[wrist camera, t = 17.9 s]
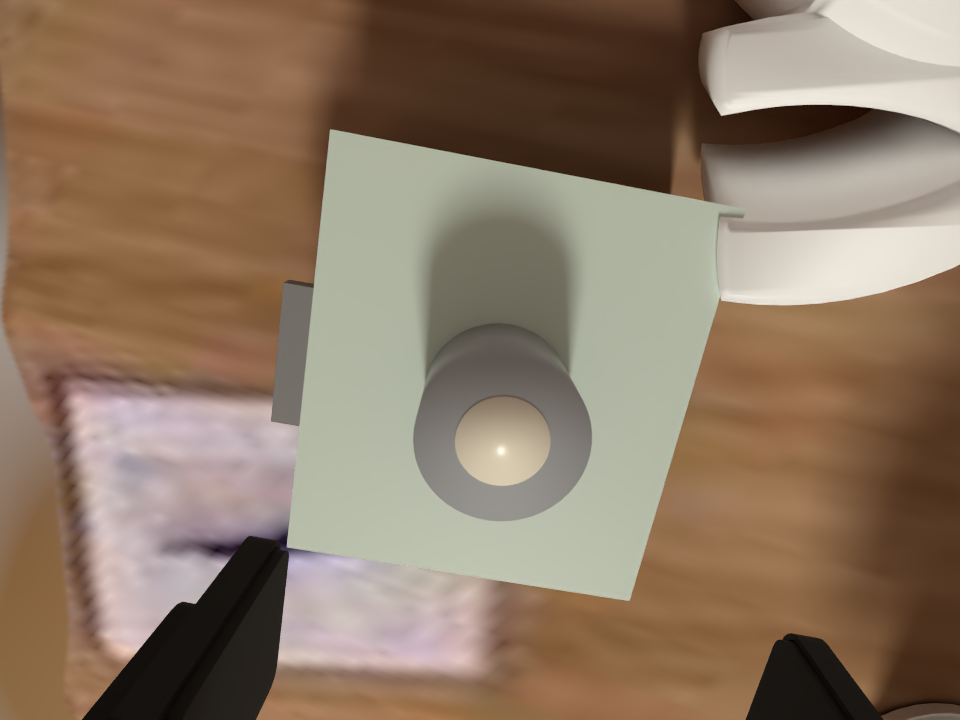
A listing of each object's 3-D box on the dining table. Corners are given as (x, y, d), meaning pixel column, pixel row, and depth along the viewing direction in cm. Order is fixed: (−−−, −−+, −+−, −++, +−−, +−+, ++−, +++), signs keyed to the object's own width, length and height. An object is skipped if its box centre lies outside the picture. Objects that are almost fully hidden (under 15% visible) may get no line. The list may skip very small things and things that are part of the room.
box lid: (625, 589, 28) (629, 601, 27) (266, 533, 27) (260, 542, 26) (737, 208, 23) (746, 209, 22) (304, 125, 22) (297, 122, 21)
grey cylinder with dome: (553, 468, 25) (572, 533, 20) (416, 448, 25) (402, 509, 20) (581, 335, 24) (610, 370, 19) (435, 312, 23) (425, 342, 18)
